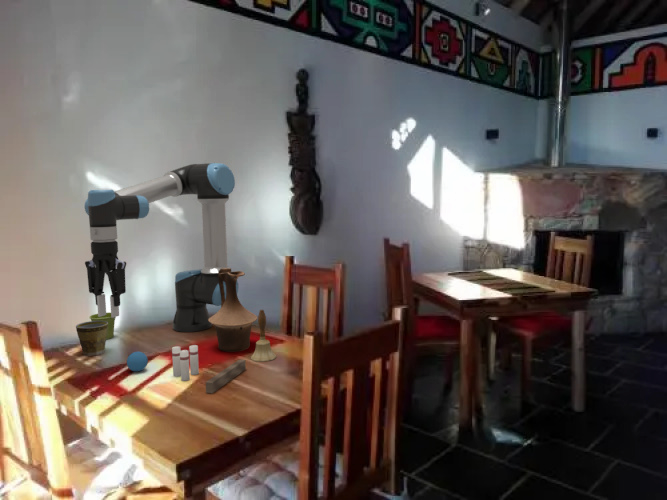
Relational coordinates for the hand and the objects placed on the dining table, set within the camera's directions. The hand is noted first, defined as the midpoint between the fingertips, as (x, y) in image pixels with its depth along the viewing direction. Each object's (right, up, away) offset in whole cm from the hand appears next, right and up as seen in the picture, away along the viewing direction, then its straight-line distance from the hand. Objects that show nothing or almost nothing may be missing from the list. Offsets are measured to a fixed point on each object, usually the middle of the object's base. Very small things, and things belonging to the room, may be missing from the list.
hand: (108, 315), depth 164 cm
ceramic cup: (-14, -15, +19) cm, 28 cm away
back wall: (+38, -17, -10) cm, 43 cm away
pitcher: (+34, -14, +23) cm, 43 cm away
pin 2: (+28, -17, -4) cm, 33 cm away
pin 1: (+26, -17, -9) cm, 33 cm away
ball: (+9, -14, -1) cm, 17 cm away
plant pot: (-17, -13, +36) cm, 42 cm away
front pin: (+23, -17, -5) cm, 29 cm away
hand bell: (+46, -15, +11) cm, 50 cm away
